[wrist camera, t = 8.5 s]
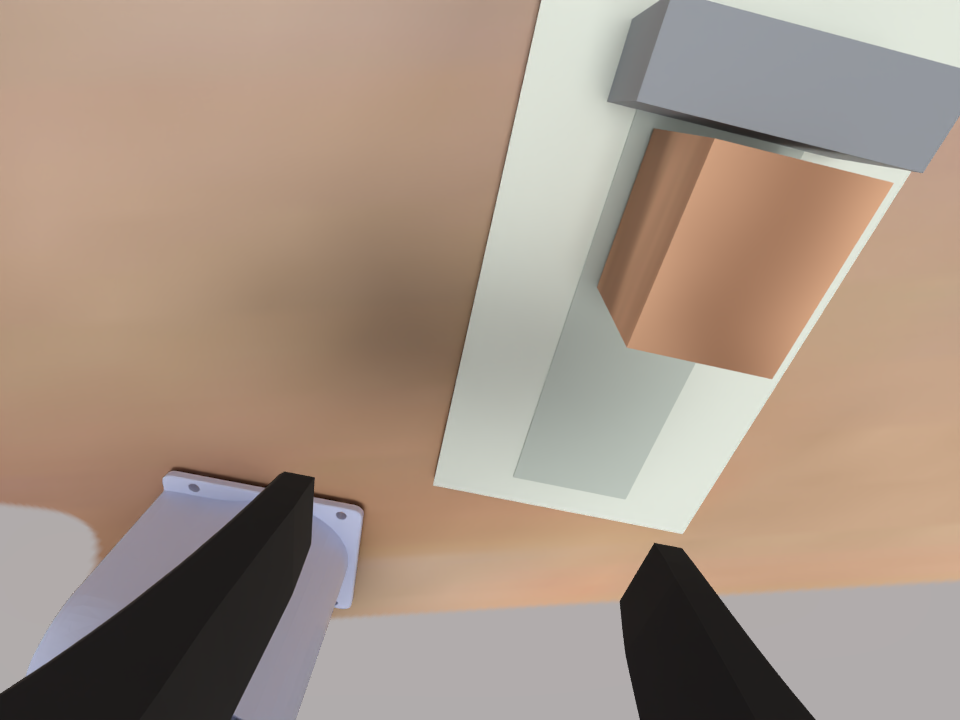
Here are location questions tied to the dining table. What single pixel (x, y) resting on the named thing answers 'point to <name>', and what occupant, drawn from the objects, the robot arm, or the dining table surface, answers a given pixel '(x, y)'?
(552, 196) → the board
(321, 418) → the dining table surface
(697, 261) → the block
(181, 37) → the dining table surface
